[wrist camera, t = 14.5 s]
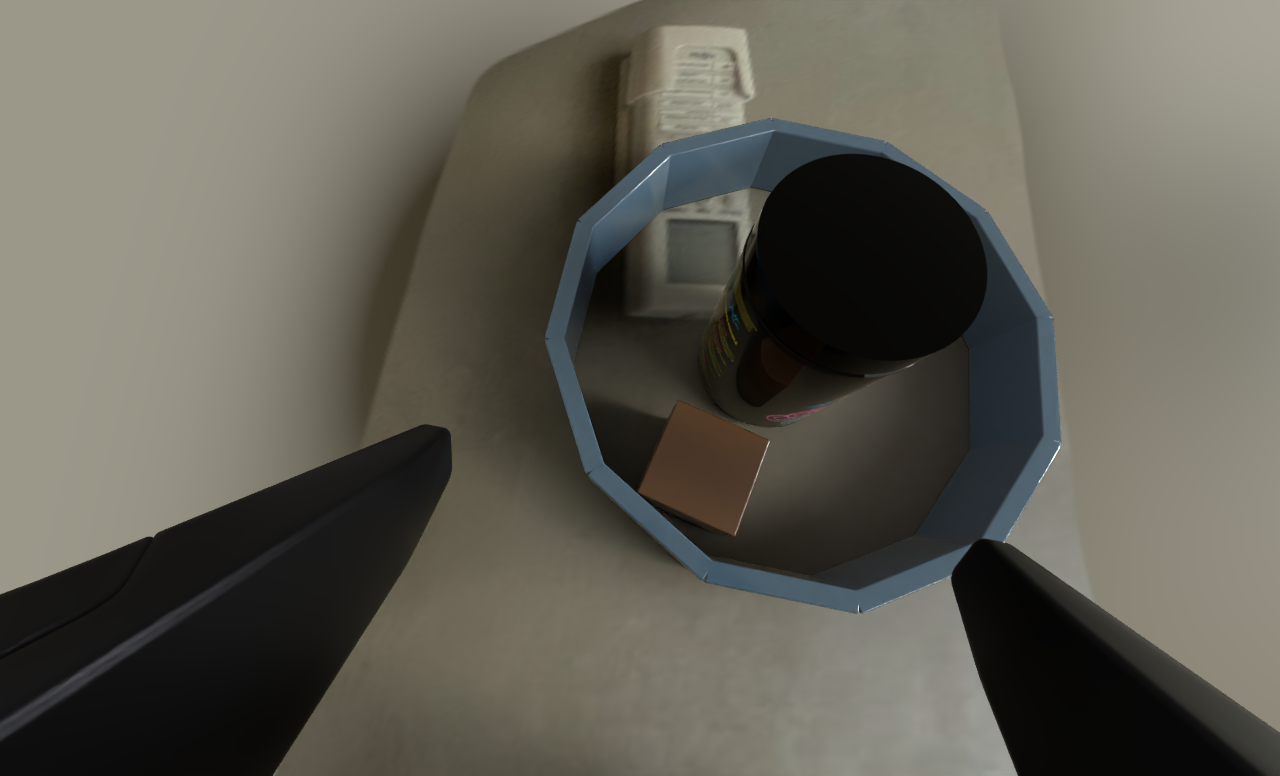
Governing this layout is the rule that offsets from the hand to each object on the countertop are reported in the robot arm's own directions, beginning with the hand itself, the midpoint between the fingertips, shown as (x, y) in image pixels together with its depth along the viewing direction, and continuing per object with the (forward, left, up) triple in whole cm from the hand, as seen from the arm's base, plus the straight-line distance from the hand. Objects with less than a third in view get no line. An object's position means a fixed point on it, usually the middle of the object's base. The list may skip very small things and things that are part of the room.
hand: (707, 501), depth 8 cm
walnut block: (+2, -2, -14) cm, 14 cm away
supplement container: (+8, -4, -14) cm, 16 cm away
